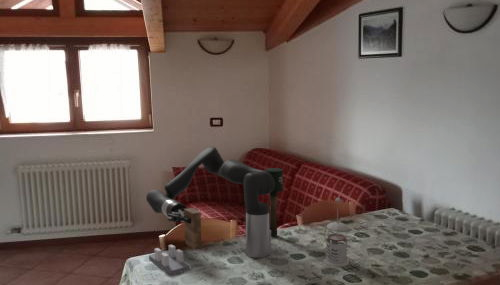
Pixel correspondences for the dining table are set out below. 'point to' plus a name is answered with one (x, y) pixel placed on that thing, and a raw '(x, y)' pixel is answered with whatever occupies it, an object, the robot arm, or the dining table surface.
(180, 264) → the hinge base
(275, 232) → the potato masher grenade
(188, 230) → the brown wooden block
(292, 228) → the dining table surface
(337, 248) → the french press
